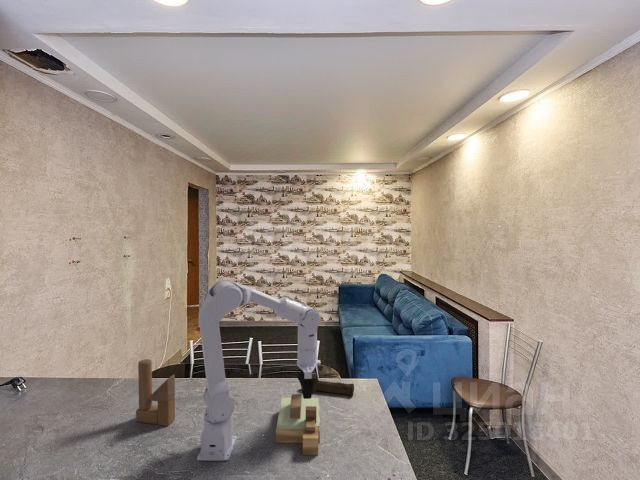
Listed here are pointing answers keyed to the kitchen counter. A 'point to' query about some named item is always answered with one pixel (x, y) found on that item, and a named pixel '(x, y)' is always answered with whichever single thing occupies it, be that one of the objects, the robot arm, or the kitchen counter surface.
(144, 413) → the wooden block
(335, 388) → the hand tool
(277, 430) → the wooden slab
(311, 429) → the l-shaped wooden piece
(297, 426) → the lid
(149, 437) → the kitchen counter surface
